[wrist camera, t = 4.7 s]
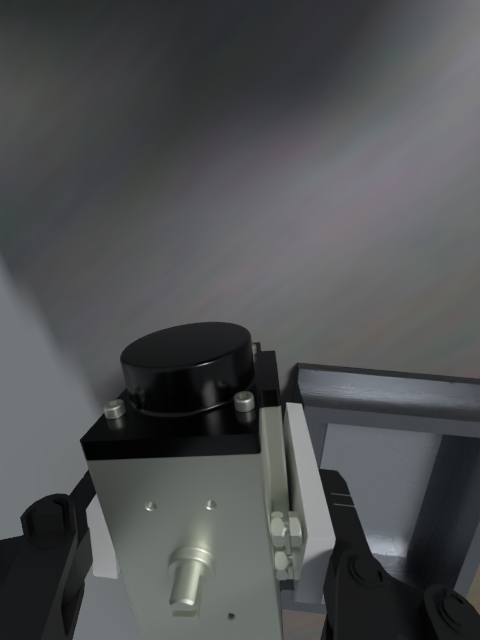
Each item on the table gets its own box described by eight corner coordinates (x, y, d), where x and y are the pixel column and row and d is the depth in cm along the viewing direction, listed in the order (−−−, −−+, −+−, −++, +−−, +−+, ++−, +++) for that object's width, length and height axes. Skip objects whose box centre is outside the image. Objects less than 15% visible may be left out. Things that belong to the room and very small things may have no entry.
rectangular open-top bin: (297, 362, 20) (307, 390, 16) (484, 379, 20) (539, 412, 16) (270, 560, 25) (273, 617, 21) (419, 576, 25) (449, 638, 21)
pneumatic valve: (209, 456, 20) (142, 736, 9) (182, 298, 17) (25, 420, 6) (285, 453, 20) (319, 747, 8) (272, 289, 17) (296, 405, 5)
